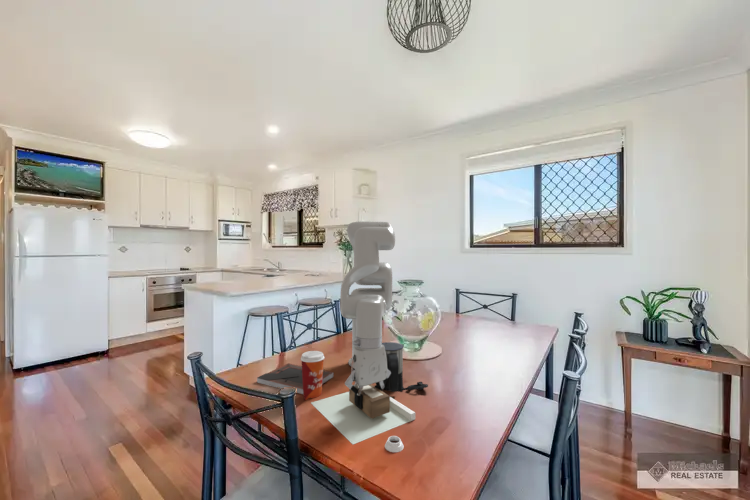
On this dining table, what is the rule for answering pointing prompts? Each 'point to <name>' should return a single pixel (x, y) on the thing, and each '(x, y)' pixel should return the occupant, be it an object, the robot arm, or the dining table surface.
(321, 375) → the paper cup
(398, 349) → the milk frother
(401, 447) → the white flanged bushing
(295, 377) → the picture frame
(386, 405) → the brown rectangular box
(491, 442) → the dining table surface
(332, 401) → the wall board
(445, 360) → the dining table surface
